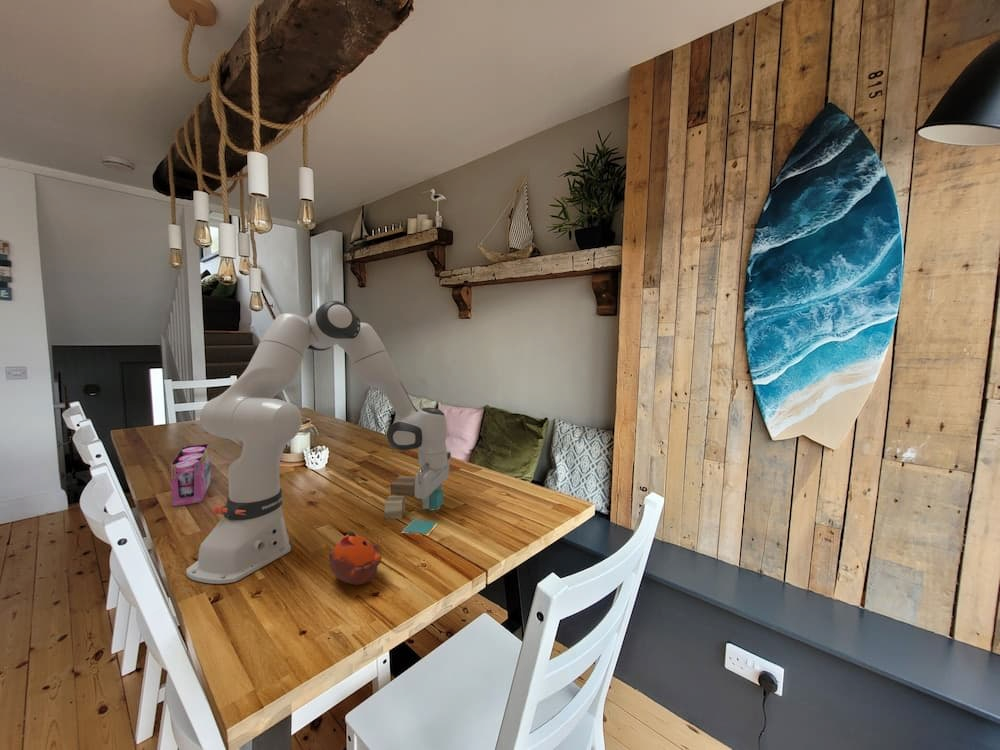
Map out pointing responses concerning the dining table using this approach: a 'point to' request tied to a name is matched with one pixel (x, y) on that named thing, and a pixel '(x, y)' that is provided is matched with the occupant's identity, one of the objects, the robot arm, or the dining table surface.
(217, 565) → the robot arm
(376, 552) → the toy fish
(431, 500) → the teal cube
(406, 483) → the walnut block
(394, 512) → the maple cube
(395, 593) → the dining table surface
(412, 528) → the swatch tile
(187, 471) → the gum box
